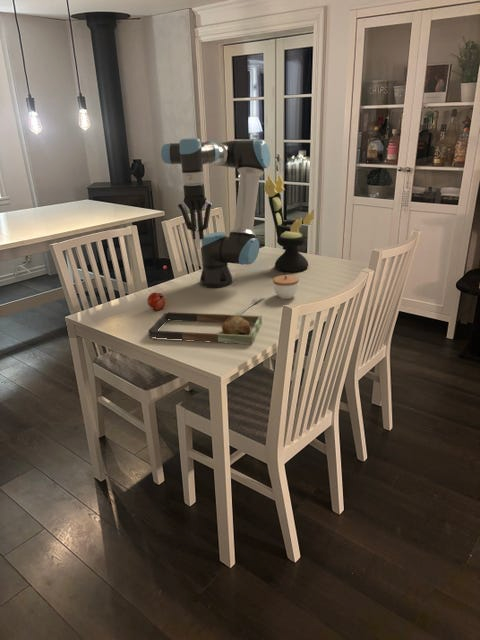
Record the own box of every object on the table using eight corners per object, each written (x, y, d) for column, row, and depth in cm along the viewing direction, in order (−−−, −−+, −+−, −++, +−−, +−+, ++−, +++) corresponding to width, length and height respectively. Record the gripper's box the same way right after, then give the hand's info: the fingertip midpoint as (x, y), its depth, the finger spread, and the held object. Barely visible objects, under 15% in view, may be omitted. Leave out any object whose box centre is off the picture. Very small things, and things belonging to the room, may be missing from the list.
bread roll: (228, 348, 170) (231, 333, 165) (215, 328, 176) (218, 313, 170) (252, 341, 175) (256, 326, 169) (239, 321, 180) (242, 306, 175)
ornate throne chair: (302, 275, 229) (302, 177, 211) (259, 271, 238) (255, 177, 220) (314, 264, 244) (315, 172, 226) (273, 260, 253) (271, 172, 235)
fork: (234, 320, 190) (233, 314, 189) (261, 298, 205) (260, 292, 204) (240, 321, 189) (239, 315, 187) (266, 299, 203) (266, 293, 202)
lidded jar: (297, 301, 198) (297, 279, 195) (271, 300, 201) (271, 279, 197) (299, 292, 208) (299, 271, 204) (275, 291, 210) (274, 271, 206)
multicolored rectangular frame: (166, 319, 188) (165, 312, 187) (261, 323, 180) (261, 315, 178) (148, 339, 172) (147, 331, 171) (252, 344, 164) (251, 336, 162)
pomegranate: (146, 316, 198) (157, 306, 191) (140, 300, 199) (150, 290, 192) (161, 312, 203) (172, 302, 196) (155, 297, 204) (165, 286, 197)
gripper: (172, 185, 172) (179, 250, 181) (207, 185, 169) (213, 250, 178) (180, 182, 178) (186, 245, 188) (213, 182, 175) (218, 245, 185)
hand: (199, 247), depth 183 cm, fingers closed
